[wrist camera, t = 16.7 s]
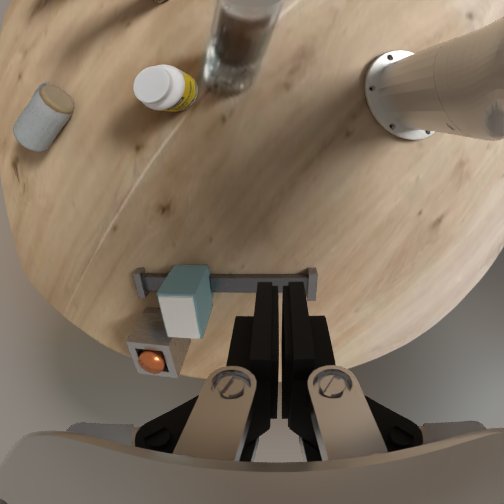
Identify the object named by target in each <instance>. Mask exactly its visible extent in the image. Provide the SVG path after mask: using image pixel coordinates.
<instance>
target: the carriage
mask: <svg viewBox="0 0 504 504" xmlns="http://www.w3.org/2000/svg"><path fill="white" fill-rule="evenodd" d="M210 273H211V272H210V269H208V265H174V266H173V268H172V269H171V271H170V272H169V274H168V276H167V277H166V279H165V280H164V282H163V284H162V285H161V287H160V288H159V290H158V292H157V297H158V302H159V306H160V310H161V314H162V318H163V322H164V326H165V330H166V333H167V336H168V337H178V338H194V339H203V336H204V332H205V329H206V326H207V323H208V319H209V316H210V313H211V310H212V306H213V304H212V297H213V292H211V289H210V281H209V275H210Z"/></svg>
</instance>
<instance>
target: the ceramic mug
mask: <svg viewBox="0 0 504 504" xmlns="http://www.w3.org/2000/svg"><path fill="white" fill-rule="evenodd" d="M73 110H74V103H73V101H72V99H71V97H70V96H69V95H68V94H67V93H66V92H65V91H63V90H62V89H60V88H59V87H56V86H54V85H51V84H49V83H43V84H41V85H40V86H39V87H38V88H37V90H36V91H35V92H34V94H33V96H32V98H31V100H30V102H29V103H28V105H27V106H26V108H25V109H24V110H23V112H22V113H21V115H20V116H19V118H18V119H17V121H16V122H15V124H14V127H13V132H14V136H15V138H16V139H17V141H18V142H19V143H20V144H21V145H22V146H24V147H25V148H27V149H29V150H31V151H35V152H43V151H45V150H47V149H48V148H49V147H50V145H51V144H52V142H53V141H54V139H55V138H56V136H57V135H58V134H59V132H60V131H61V129H62V128H63V126H64V125H65V124H66V123H67V121H68V120H69V118H70V117H71V115H72V113H73Z"/></svg>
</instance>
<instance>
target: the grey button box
mask: <svg viewBox="0 0 504 504" xmlns="http://www.w3.org/2000/svg"><path fill="white" fill-rule="evenodd" d="M190 342H191V340H190V338H178V337H168V336H167V333H166V330H165V326H164V322H163V318H162V314H161V310H160V308H145V310H144V312H143V313H142V315H141V317H140V318H139V320H138V322H137V323H136V325H135V327H134V328H133V330H132V332H131V333H130V335H129V337H128V338H127V340H126V343H127V346H128V349H129V351H130V354H131V357H132V359H133V361H134V364H135V366H136V369H137V371H138V373H141V374H148V375H155V376H164V377H171V378H178V377H179V374H180V371H181V368H182V366H183V363H184V360H185V357H186V354H187V351H188V348H189V345H190ZM143 349H145V350H155V351H163V354H164V357H165V361H166V363H165V365H164V368H163V370H162V372H161V373H158V374H153V373H149V372H147V371H145V370H144V369H142V368H141V366H140V365H139V363H138V359H139V357H140V355H141V353H142V351H143Z"/></svg>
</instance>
